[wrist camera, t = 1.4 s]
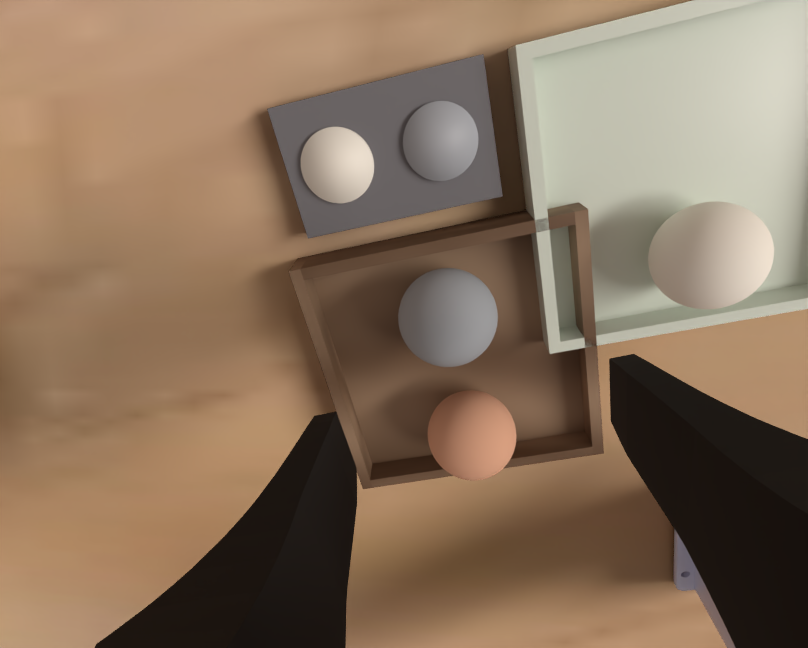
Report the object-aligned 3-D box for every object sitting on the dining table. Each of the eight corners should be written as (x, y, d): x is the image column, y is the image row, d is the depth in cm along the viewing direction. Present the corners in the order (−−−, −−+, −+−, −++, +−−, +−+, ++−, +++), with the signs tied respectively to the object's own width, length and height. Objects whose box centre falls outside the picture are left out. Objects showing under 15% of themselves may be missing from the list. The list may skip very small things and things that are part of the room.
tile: (498, 191, 20) (503, 197, 19) (312, 231, 21) (307, 239, 20) (480, 56, 18) (484, 53, 17) (274, 107, 19) (265, 109, 18)
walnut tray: (592, 431, 25) (603, 453, 24) (366, 466, 27) (363, 489, 25) (575, 200, 20) (588, 209, 19) (297, 258, 22) (288, 271, 20)
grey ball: (496, 329, 22) (511, 376, 19) (410, 345, 23) (408, 394, 19) (483, 246, 21) (496, 279, 17) (390, 265, 21) (384, 301, 17)
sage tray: (818, 286, 21) (849, 301, 20) (540, 336, 23) (549, 353, 21) (866, -42, 16) (912, -56, 15) (507, 49, 18) (515, 45, 16)
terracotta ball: (513, 434, 25) (529, 492, 21) (435, 446, 25) (437, 505, 22) (502, 367, 23) (518, 418, 19) (419, 381, 24) (419, 434, 20)
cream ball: (730, 276, 21) (795, 315, 17) (632, 294, 21) (676, 336, 18) (736, 181, 19) (809, 203, 16) (630, 203, 20) (677, 230, 16)
